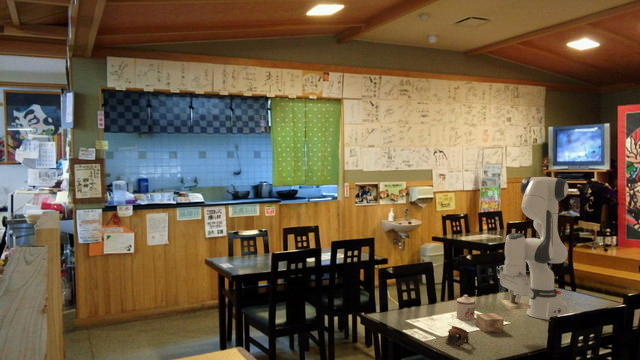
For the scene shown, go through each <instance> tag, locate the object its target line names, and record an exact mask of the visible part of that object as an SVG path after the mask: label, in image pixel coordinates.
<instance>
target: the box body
mask: <svg viewBox="0 0 640 360" xmlns="http://www.w3.org/2000/svg"><path fill="white" fill-rule="evenodd" d="M475 323H476V324H475V327H476V328H478V329H479V330H480V331H482V332H483V333H484V334H486V333H504V332H505V330H504V328H505V327H504V326H505V323H504V318H503V317H501V316H500V315H497V314H496V313H494V312H491V313H490V312H489V313H476V322H475Z"/></svg>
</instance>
